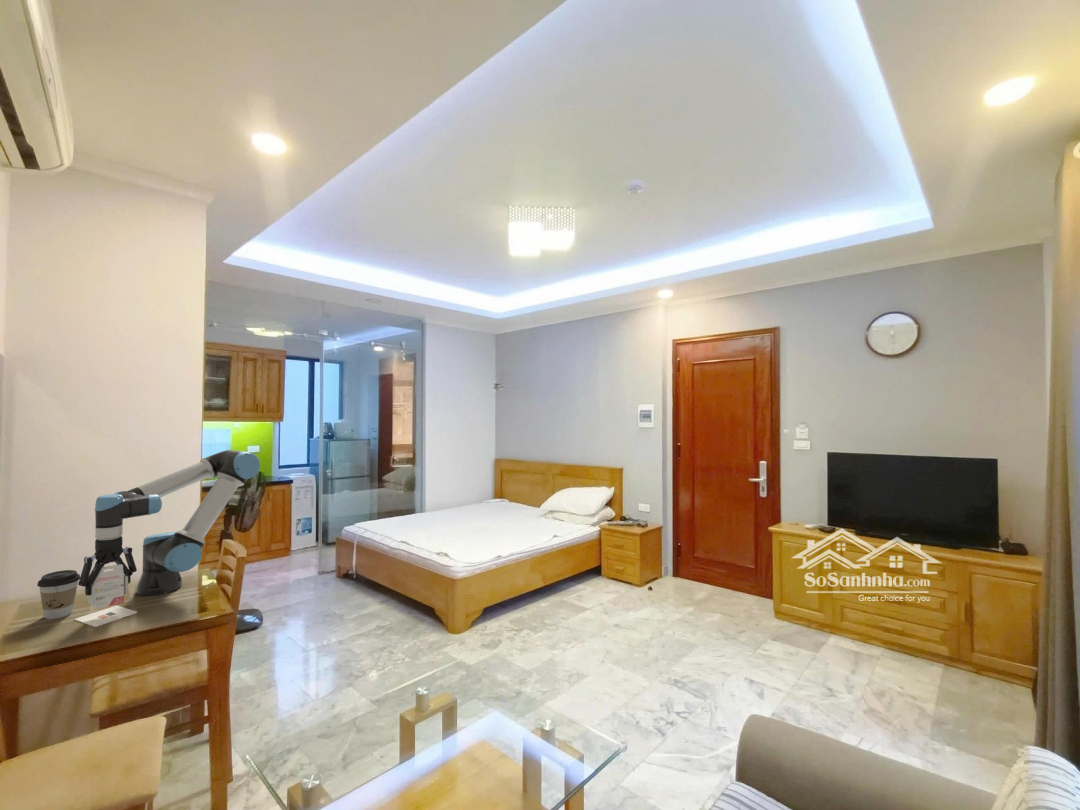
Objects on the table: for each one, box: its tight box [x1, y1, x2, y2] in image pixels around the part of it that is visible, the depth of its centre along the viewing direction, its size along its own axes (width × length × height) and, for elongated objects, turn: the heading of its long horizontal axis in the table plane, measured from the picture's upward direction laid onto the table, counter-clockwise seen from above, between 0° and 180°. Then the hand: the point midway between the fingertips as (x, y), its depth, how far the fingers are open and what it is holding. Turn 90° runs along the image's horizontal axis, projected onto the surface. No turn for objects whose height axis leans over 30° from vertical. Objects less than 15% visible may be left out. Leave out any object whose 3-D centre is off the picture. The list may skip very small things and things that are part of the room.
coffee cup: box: [36, 569, 81, 620], centre depth 178 cm, size 11×11×15 cm
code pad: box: [74, 605, 139, 628], centre depth 178 cm, size 13×13×1 cm
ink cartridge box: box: [92, 564, 125, 610], centre depth 179 cm, size 9×5×15 cm, turn 131°
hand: (108, 597), depth 179 cm, fingers closed on ink cartridge box, 9 cm apart
